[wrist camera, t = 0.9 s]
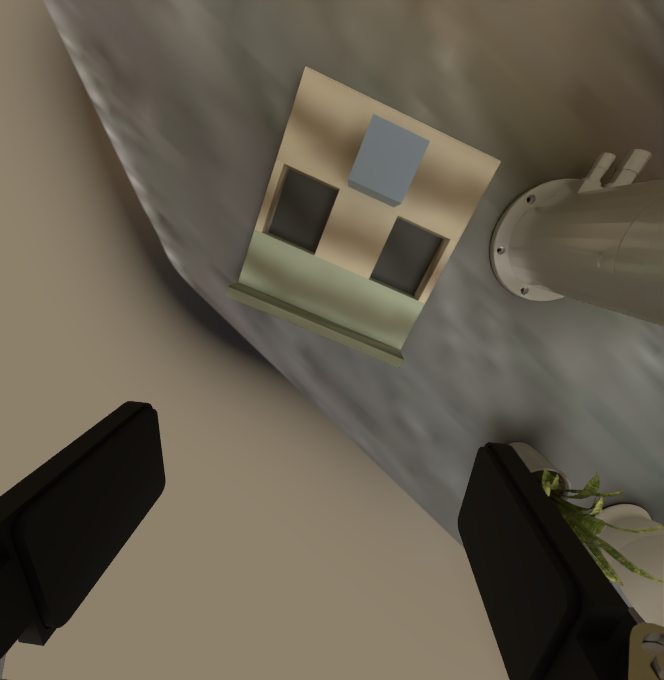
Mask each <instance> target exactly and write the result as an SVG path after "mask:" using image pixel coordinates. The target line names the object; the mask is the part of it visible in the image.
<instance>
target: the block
mask: <svg viewBox="0 0 664 680" xmlns="http://www.w3.org/2000/svg"><path fill="white" fill-rule="evenodd" d="M429 142H430V141H429V140H427V139H425V138H423V137H420V136H418V135H416V134H414V133H412V132H410V131H408V130H406V129H404V128H402V127H400V126H398V125H396V124H393V123H391V122H389V121H387V120H385V119H383V118H381V117H379V116H377V115H375V114H373V116H372V119H371V121H370V124H369V126H368V129H367V132H366V134H365V137H364V139H363V142H362V144H361V147H360V150H359V152H358V155H357V157H356V160H355V162H354V165H353V167H352V170H351V173H350V175H349V178H348V187H350V188H352V189H355V190H357V191H359V192H361V193H363V194H365V195H368V196H370V197H372V198H374V199H376V200H379V201H381V202H383V203H385V204H387V205H389V206H392V207H396V206H398V205H400V204H402V201H403V199H404V197H405V195H406V193H407V190H408V188H409V186H410V184H411V182H412V180H413V177H414V175H415V173H416V171H417V169H418V166H419V164H420V162H421V160H422V158H423V155H424V153H425V151H426V149H427V147H428V144H429Z"/></svg>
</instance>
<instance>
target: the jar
mask: <svg viewBox="0 0 664 680" xmlns="http://www.w3.org/2000/svg"><path fill="white" fill-rule="evenodd" d="M594 517H595V518H598V519H601V520H603V521H605V522H606V523H608V524H611V525H613V526H616V527H619V528H624V529H631V530H643V529H647V528H651V527H653V528H655V527H659V526H663V525H661V524H659V523H657V522H655V521H653V520H651V518H650V516H649V514H648V513H647V512H646V511H645V510H644V509H643V508H641V507H639V506H636V505H632V504H618V505H613V506H610V507H608V508H605V509H603V510H602V512H601V513H600V514H597V515H595V516H594ZM596 536H598V537H599V538H600V539H602V540H603V541H605V542H606V543H608V544H609V545H611V546H612V547H613V548H614V549H616V550H617V551H618V552H619V553H620V554H622V555H623V556H624V557H625V558H626V559H628V560H629V561H630V562H632V563H633V564H634V565H636V566H637V567H639V568H640V569H642V570H643V571H645V572H647V573H648V574H650V575H652V576H654V577H656V578H658V579H659V580H661V581H663V582H664V527H663V528H661V529H658V530H654V531H651V532H647V533H632V532H626V531H622V530H618V529H615V528H612V527H609V526H606V525H605V526H604V528H603V530H602V531H601V533H600V534H597V535H596ZM593 542H594V541H593ZM600 549H601V552H602V554H603V556H604V557H605V559H606V560H607V561H608V563H609V564H610V565H611V567H612V568H613V569H614V571H615V572H616V573H617V575H618V577H619V578H620V580H621V582H622V583H623V585H624V587H623V586H622V585H619V584H618V585H619V586H620V588H621V590H622V591H623V593H624V594H625V596H626V597H627V599H628V600H629V602H630V603H631V605H632V606H633V607H634V608H635V610H636V611H637V612H638V614H639V615H640V616H641V617H642V618H643V620H644V621H645V622H646V623H654V624H657V625H660V626H663V627H664V583H660V582H656V581H653V580H650V579H648V578H645V577H642V576H640V575H637V574H635V573H633V572H631V571H630V570H628V569H627V568H626V567H624V566H623V565H621V564H620V563H619V562H618V561H617V560H615V559H614V558H613V557H612V556H610V555H609V554H608V553H607V552H606V551H604V550H603V549H602V548H601V547H600Z"/></svg>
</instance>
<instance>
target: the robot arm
mask: <svg viewBox="0 0 664 680" xmlns="http://www.w3.org/2000/svg"><path fill="white" fill-rule="evenodd" d="M651 157H652V154H651V153H650V152H648V151H646V150H643V149H631V150H629V151H627V153H626V154H625V156H624V157H623V159H622V160H621V162H620V164H619V165H618V167H617V168H616V170H615V173H614V175H613V176H612V178H611V179H610V181H609V182H608V183H606V184H602V185H601V182H600V180H601V179H602V177H603V176H604V174H605V173H606V172H607V171H608V169H609V168H610V166H611V165H612V163H613V162H614V160H615V159H616V156H615V155H614V154H611V153H606V152H604V153H600V154H599V156H598V157H597V159H596V160H595V162H594V163H593V165H592V167H591V170H590V171H589V173H588V174H587V176H586V178H582V179H581V180H580V179H568V178H566V179H559V180H553V181H549V182H545V183H542V184H540V185H538V186H535V187H533V188H531V189H530V190H528V191H526V192H525V193H523V194H522V195H520V196H519V197H518V198H517V199H516V200H515V201H514V202H513V203H511V204H510V206H509V207H508V208H507V209H506V211H505V212H504V213H503V214H502V216H501V218H500V220H499V221H498V223H497V225H496V227H495V230H494V233H493V236H492V240H491V246H490V260H491V265H492V269H493V272H494V274H495V276H496V278H497V279H498V281H499V282H500V283H501V285H502V286H503V287H504V288H505V289H507V290H508V291H509V292H510V293H512V294H514V295H516V296H518V297H521V298H524V299H526V300H532V301H537V302H538V301H553V300H558V299H561V298H564V297H570V298H573V299H576V300H580V301H583V302H586V303H589V304H593V305H596V306H599V307H602V308H606V309H609V310H612V311H615V312H619V313H622V314H625V315H628V316H632V317H635V318H638V319H641V320H645V321H648V322H651V323H654V324H657V325H661V326H664V179H658V180H652V181H646V182H640V183H634V184H632V183H633V181H634V180H635V178H636V177H638V176H639V174H640V173H641V171H642V170H643V168H644V167H645V165H646V164H647V163H648V161H649V160H650V158H651ZM527 198H528V199H529V200H528V202H527ZM498 248H499V249H500V250H499V252H497V249H498ZM521 289H522V291H521ZM164 487H165V473H164V464H163V456H162V448H161V440H160V431H159V423H158V415H157V411H156V410H155V409H153V408H152V406H151V404H149V403H143V402H134V401H127V402H126V403H124V404H123V405H121V406H120V407H119V408H117V409H116V410H115V411H113V412H112V413H111V414H109V415H108V416H107V417H105V418H104V419H103V420H101V421H100V422H99V423H97V424H96V425H95V426H93V427H92V428H91V429H89V430H88V431H87V432H85V433H84V434H83V435H81V436H80V437H79V438H77V439H76V440H75V441H73V442H72V443H71V444H69V445H68V446H67V447H65V448H64V449H63V450H61V451H60V452H59V453H57V454H56V455H55V456H53V457H52V458H51V459H50V460H48V461H47V462H46V463H44V464H43V465H41V466H40V467H39V468H37V469H36V470H35V471H33V472H32V473H31V474H29V475H28V476H27V477H25V478H24V479H23V480H21V481H20V482H19V483H17V484H16V485H15V486H14V487H12V488H11V489H10V490H8V491H7V492H6V493H4V494H3V495H2V496H0V680H6V679H2V674H3V668H4V662H5V657H6V653H7V651H8V650H9V649H10V648H11V647H12V645H13V644H14V643H15V642H16V641H17V639H18V641H19V642H22V643H29V644H35V645H42V646H44V644H45V643H46V642H47V640H48V639H49V638H50V636H51V635H52V634H53V632H54V631H55V630H56V628H60V627H62V626H63V625H64V624H66V622H68V620H69V619H70V618H71V617H72V615H73V614H74V612H75V611H76V610H77V608H78V607H79V606H80V604H81V603H82V602H83V600H84V599H85V597H86V596H87V595H88V593H89V592H90V591H91V589H92V588H93V587H94V585H95V584H96V583H97V581H98V580H99V578H100V577H101V576H102V574H103V573H104V572H105V570H106V569H107V568H108V566H109V565H110V563H111V562H112V561H113V559H114V558H115V557H116V555H117V554H118V553H119V551H120V550H121V548H122V547H123V546H124V544H125V543H126V542H127V540H128V539H129V538H130V536H131V535H132V533H133V532H134V531H135V529H136V528H137V527H138V525H139V524H140V522H141V521H142V520H143V518H144V517H145V516H146V514H147V513H148V512H149V510H150V509H151V507H152V506H153V505H154V503H155V502H156V501H157V499H158V498H159V497H160V495H161V494H162V492H163V490H164ZM458 529H459V533H460V536H461V539H462V542H463V545H464V548H465V551H466V554H467V557H468V559H469V562H470V565H471V568H472V571H473V574H474V577H475V580H476V583H477V586H478V589H479V592H480V595H481V597H482V600H483V603H484V606H485V609H486V612H487V615H488V618H489V621H490V624H491V627H492V630H493V632H494V636H495V638H496V641H497V644H498V647H499V650H500V653H501V656H502V659H503V662H504V665H505V668H506V671H507V674H508V676H509V679H510V680H664V627H663V626H660V625H657V624H654V623H639V624H637V623H636V621H635V620H634V618H633V617H632V616H631V614H630V613H629V611H628V609H629V608H628V606H627V605H626V603H625V602H624V601H623V599H622V598H621V596H620V595H619V594H618V592H617V591H616V590H615V588H614V587H613V585H612V584H611V583H610V581H609V580H608V578H607V577H606V576H605V574H604V573H603V572H602V570H601V569H600V567H599V566H598V565H597V563H596V562H595V560H594V559H593V558H592V556H591V555H590V553H589V552H588V551H587V549H586V548H585V547H584V545H583V544H582V542H581V541H580V540H579V538H578V537H577V535H576V534H575V533H574V531H573V530H572V529H571V527H570V526H569V524H568V523H567V522H566V520H565V519H564V517H563V516H562V515H561V513H560V512H559V510H558V509H557V508H556V506H555V505H554V504H553V502H552V501H551V499H550V498H549V497H548V495H547V494H546V492H545V491H544V490H543V488H542V487H541V486H540V484H539V483H538V481H537V480H536V479H535V477H534V476H533V474H532V473H531V472H530V470H529V469H528V467H527V466H526V465H525V463H524V462H523V461H522V459H521V458H520V456H519V455H518V454H517V452H516V451H515V449H514V448H513V447H512V446H511V445H508V444H500V443H491V442H488V443H486V445H485V446H484V447H480V448H479V449H478V452H477V456H476V459H475V462H474V466H473V469H472V472H471V476H470V479H469V482H468V486H467V489H466V493H465V496H464V499H463V503H462V506H461V509H460V513H459V516H458Z"/></svg>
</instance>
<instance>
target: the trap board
mask: <svg viewBox="0 0 664 680" xmlns="http://www.w3.org/2000/svg"><path fill="white" fill-rule="evenodd" d="M373 114H375V115H377V116H379V117H381V118H383V119H385V120H387V121H389V122H391V123H393V124H396V125H398V126H400V127H402V128H404V129H406V130H408V131H410V132H412V133H414V134H416V135H418V136H420V137H423V138H425V139H427V140H429V141H430V142H429V144H428V147H427V149H426V151H425V153H424V155H423V158H422V160H421V162H420V164H419V166H418V169H417V171H416V173H415V175H414V177H413V180H412V182H411V184H410V186H409V188H408V190H407V193H406V195H405V197H404V199H403V201H402V204H400V205H398V206H396V207H392V206H389V205H387V204H385V203H383V202H381V201H379V200H376V199H374V198H372V197H370V196H368V195H365V194H363V193H361V192H359V191H357V190H355V189H352V188H350V187H348V178H349V175H350V173H351V170H352V167H353V165H354V162H355V160H356V157H357V155H358V152H359V150H360V147H361V144H362V142H363V139H364V137H365V134H366V132H367V129H368V126H369V124H370V121H371V119H372V116H373ZM500 162H501V161H500V160H498V159H496V158H494V157H491V156H489V155H487V154H485V153H483V152H481V151H479V150H477V149H475V148H473V147H471V146H469V145H467V144H465V143H463V142H461V141H459V140H457V139H454V138H452V137H450V136H448V135H446V134H444V133H442V132H440V131H438V130H436V129H434V128H432V127H430V126H428V125H426V124H424V123H422V122H419V121H417V120H415V119H413V118H411V117H409V116H407V115H405V114H403V113H401V112H399V111H397V110H395V109H393V108H391V107H389V106H387V105H384V104H382V103H380V102H378V101H376V100H374V99H372V98H370V97H368V96H366V95H364V94H362V93H360V92H358V91H356V90H354V89H352V88H350V87H347V86H345V85H343V84H341V83H339V82H337V81H335V80H333V79H331V78H329V77H327V76H325V75H323V74H321V73H319V72H317V71H315V70H312V69H310V68H308V67H306V66H305V69H304V72H303V76H302V79H301V82H300V85H299V89H298V92H297V95H296V98H295V101H294V105H293V108H292V111H291V114H290V117H289V121H288V124H287V127H286V130H285V133H284V137H283V140H282V143H281V146H280V149H279V153H278V156H277V159H276V162H275V166H274V169H273V172H272V175H271V178H270V182H269V185H268V188H267V191H266V194H265V198H264V201H263V204H262V207H261V210H260V214H259V217H258V220H257V223H256V227H255V230H254V233H253V236H252V239H251V243H250V246H249V249H248V252H247V255H246V259H245V262H244V265H243V268H242V271H241V275H240V278H239V281H238V282H237V283H235V284H233V285H231V286H229V287H228V289H227V293H226V296H228V297H230V298H233V299H235V300H237V301H240V302H242V303H245V304H247V305H249V306H252V307H254V308H257V309H259V310H262V311H264V312H266V313H269V314H271V315H274V316H276V317H278V318H281V319H283V320H286V321H288V322H291V323H293V324H295V325H298V326H300V327H303V328H305V329H307V330H310V331H312V332H315V333H317V334H319V335H322V336H324V337H327V338H329V339H332V340H334V341H336V342H339V343H341V344H344V345H346V346H348V347H351V348H353V349H356V350H358V351H360V352H363V353H365V354H368V355H370V356H373V357H375V358H377V359H380V360H382V361H385V362H387V363H389V364H392V365H394V366H397V367H399V368H400V367H401V365H402V363H403V361H404V358H403V356H402V354H401V351H400V349H401V347H402V345H403V344H404V342H405V340H406V338H407V336H408V334H409V332H410V331H411V329H412V327H413V325H414V323H415V321H416V319H417V317H418V316H419V314H420V312H421V310H422V308H423V306H424V304H425V302H426V301H427V299H428V297H429V295H430V293H431V291H432V289H433V288H434V286H435V284H436V282H437V280H438V278H439V276H440V274H441V273H442V271H443V269H444V267H445V265H446V263H447V261H448V260H449V258H450V256H451V254H452V252H453V250H454V248H455V246H456V245H457V243H458V241H459V239H460V237H461V235H462V233H463V232H464V230H465V228H466V226H467V224H468V222H469V220H470V218H471V217H472V215H473V213H474V211H475V209H476V207H477V205H478V204H479V202H480V200H481V198H482V196H483V194H484V192H485V190H486V189H487V187H488V185H489V183H490V181H491V179H492V177H493V176H494V174H495V172H496V170H497V168H498V166H499V164H500Z"/></svg>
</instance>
